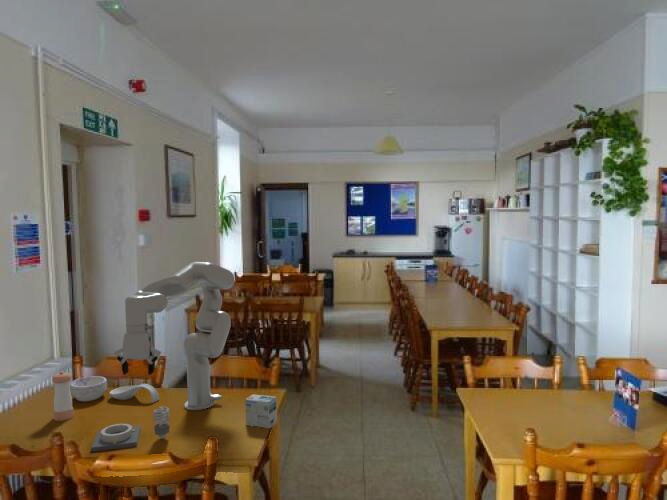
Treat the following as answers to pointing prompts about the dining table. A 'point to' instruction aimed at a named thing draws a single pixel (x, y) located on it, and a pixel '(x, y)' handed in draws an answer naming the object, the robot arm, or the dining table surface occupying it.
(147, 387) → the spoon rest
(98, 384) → the marbled white bowl
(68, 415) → the salt shaker
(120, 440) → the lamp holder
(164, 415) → the light bulb
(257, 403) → the light bulb box
